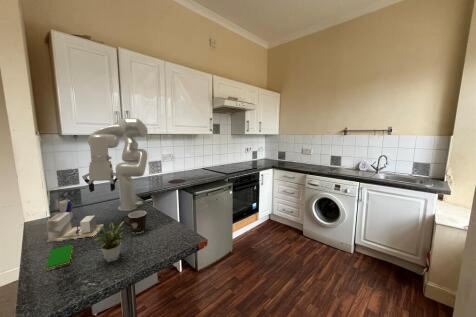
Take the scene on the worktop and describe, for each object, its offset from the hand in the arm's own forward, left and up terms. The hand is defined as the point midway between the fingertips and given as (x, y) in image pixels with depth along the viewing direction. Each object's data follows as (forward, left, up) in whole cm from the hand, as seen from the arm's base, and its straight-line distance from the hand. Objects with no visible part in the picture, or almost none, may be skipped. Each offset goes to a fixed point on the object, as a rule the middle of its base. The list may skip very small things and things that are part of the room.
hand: (102, 190), depth 106 cm
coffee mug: (-16, +6, -22) cm, 28 cm away
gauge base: (+13, +1, -22) cm, 25 cm away
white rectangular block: (+7, +2, -20) cm, 22 cm away
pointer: (+10, +6, -20) cm, 24 cm away
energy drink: (+26, -17, -22) cm, 38 cm away
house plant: (-10, +29, -22) cm, 38 cm away
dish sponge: (+10, +23, -22) cm, 34 cm away
